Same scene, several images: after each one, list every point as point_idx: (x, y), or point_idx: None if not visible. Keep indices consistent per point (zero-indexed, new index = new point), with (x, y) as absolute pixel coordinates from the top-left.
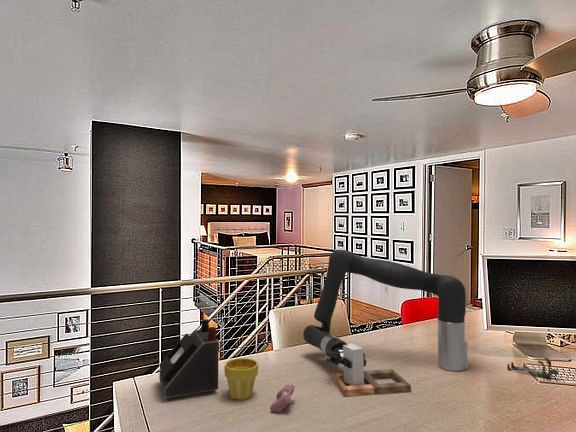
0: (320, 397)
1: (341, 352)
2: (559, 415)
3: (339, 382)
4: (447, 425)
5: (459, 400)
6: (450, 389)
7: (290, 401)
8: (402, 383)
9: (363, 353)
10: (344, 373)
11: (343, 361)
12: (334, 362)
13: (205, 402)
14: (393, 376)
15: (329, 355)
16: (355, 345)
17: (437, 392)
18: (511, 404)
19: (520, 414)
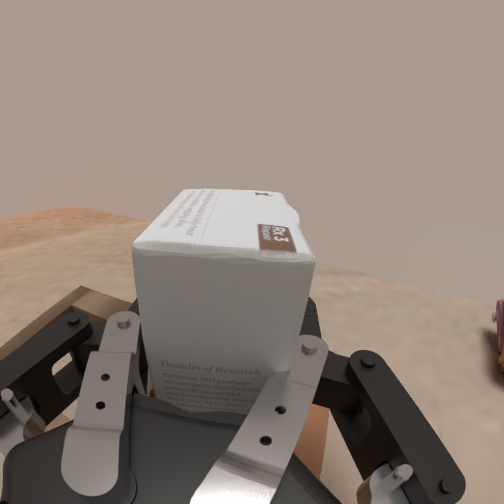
0: (415, 387)
1: (279, 414)
2: (51, 212)
3: (322, 418)
4: None
5: (68, 252)
6: (21, 273)
7: (494, 313)
8: (82, 301)
9: (69, 316)
10: None
11: (318, 336)
12: (369, 417)
13: None
14: None
15: (430, 439)
16: (177, 211)
17: (50, 277)
18: (43, 228)
19: (71, 219)
